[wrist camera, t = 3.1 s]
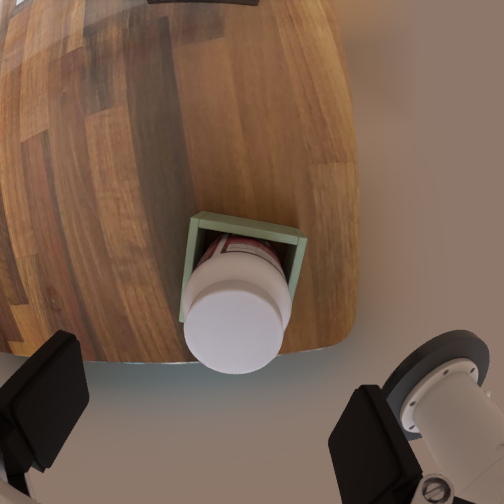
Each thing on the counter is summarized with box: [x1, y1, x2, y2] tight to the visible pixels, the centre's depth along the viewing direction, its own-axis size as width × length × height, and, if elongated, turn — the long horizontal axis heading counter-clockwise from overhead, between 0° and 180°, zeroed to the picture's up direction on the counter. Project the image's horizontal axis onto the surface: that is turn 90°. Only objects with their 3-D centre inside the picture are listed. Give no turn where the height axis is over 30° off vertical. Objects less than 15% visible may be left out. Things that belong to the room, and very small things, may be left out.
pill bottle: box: [182, 233, 291, 374], centre depth 18 cm, size 6×6×11 cm
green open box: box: [179, 211, 307, 336], centre depth 22 cm, size 8×8×4 cm
